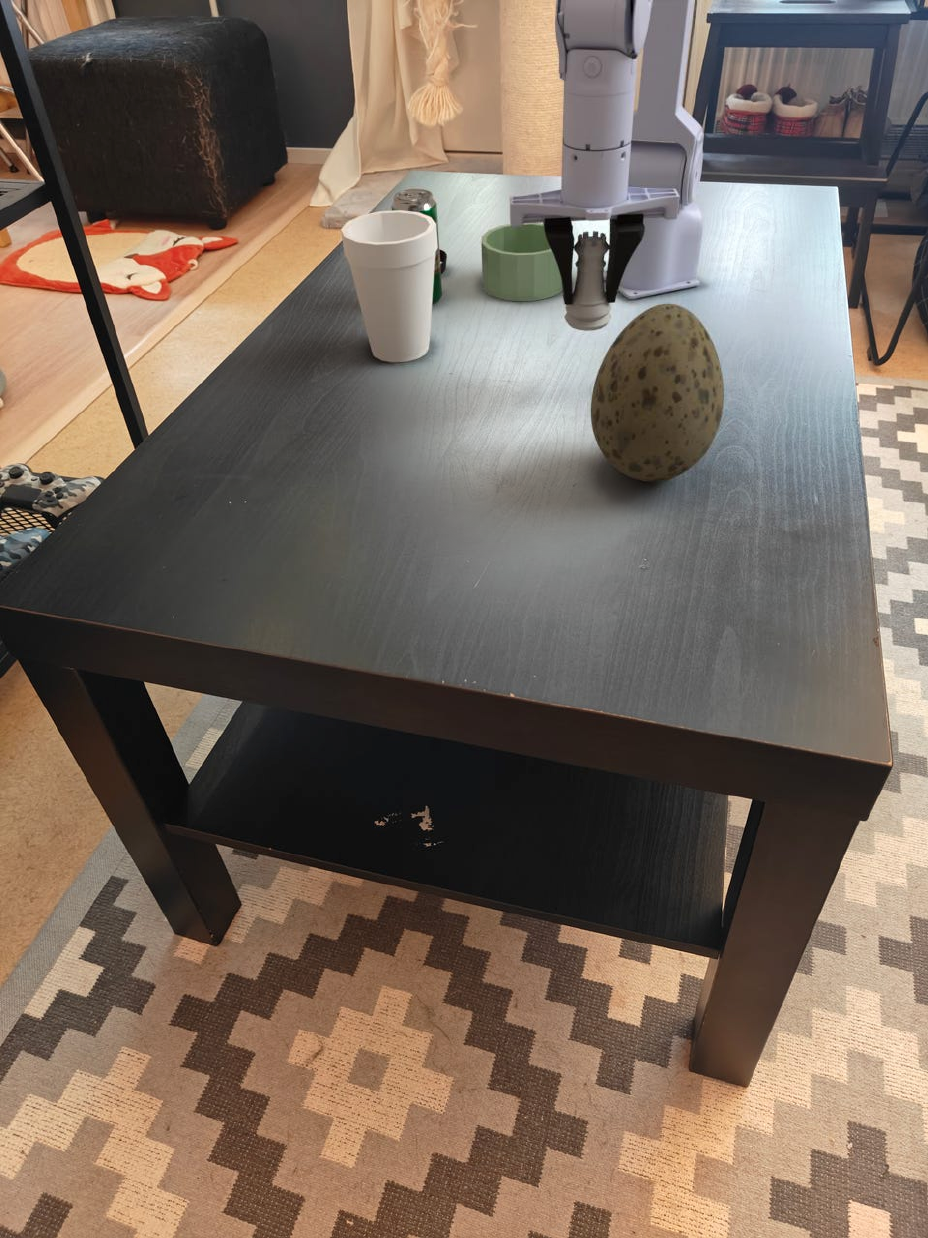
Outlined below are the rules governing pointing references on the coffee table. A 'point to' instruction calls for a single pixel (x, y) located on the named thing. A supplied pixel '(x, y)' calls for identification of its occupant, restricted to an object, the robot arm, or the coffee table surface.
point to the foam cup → (393, 279)
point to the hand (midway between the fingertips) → (588, 299)
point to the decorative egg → (658, 395)
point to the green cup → (519, 263)
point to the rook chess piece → (589, 285)
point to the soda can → (426, 205)
